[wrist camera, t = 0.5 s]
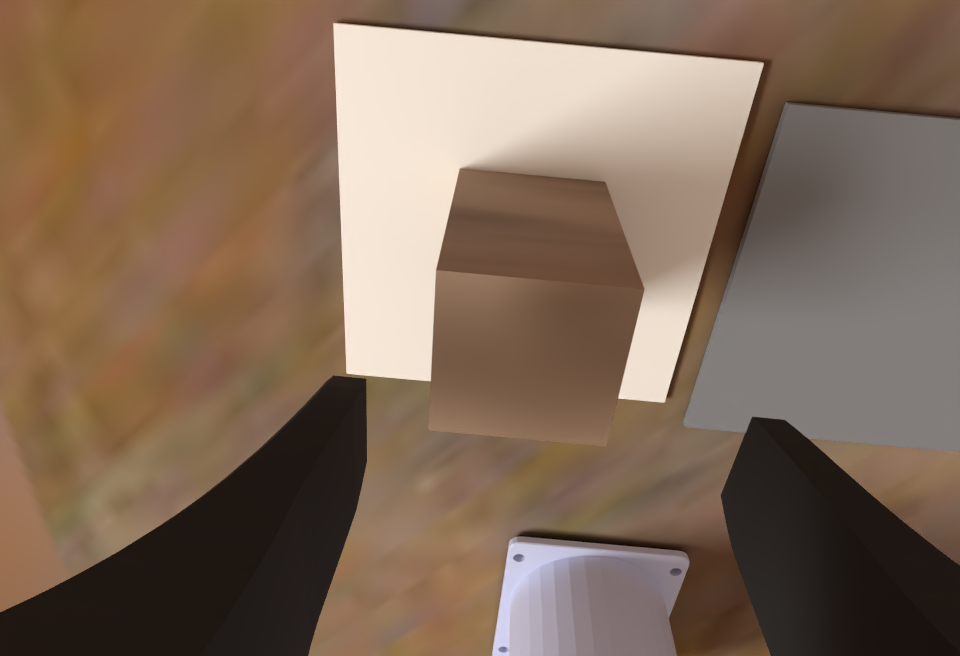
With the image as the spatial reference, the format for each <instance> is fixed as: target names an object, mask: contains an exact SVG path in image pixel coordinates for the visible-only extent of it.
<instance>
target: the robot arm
mask: <svg viewBox="0 0 960 656" xmlns="http://www.w3.org/2000/svg"><path fill="white" fill-rule="evenodd" d="M366 463H367V418H366V379H362V378H352V377H342V376H333V377H331V378H330V379H329V380H327V381H326V383H325V384H324V385H323V386H322V387H321V388H320V389H319V390H318V391H317V392H316V393H315V394H314V395H313V397H312V398H311V399H310V400H309V401H308V402H307V403H306V404H305V405H304V406H303V407H302V408H301V409H300V410H299V411H298V412H297V413H296V414H295V415H294V416H293V417H292V418H291V419H290V420H289V421H288V422H287V423H286V424H285V425H284V426H283V427H282V428H281V429H280V430H279V431H278V432H277V433H276V434H275V435H274V436H273V437H271V438H270V439H269V440H268V441H267V442H266V443H265V444H264V445H263V446H262V447H261V448H260V449H259V450H258V451H256V452H255V453H254V454H253V455H252V456H251V457H249V458H248V459H247V460H246V461H245V462H244V463H242V464H241V465H240V466H239V467H238V468H237V469H235V470H234V471H233V472H232V473H231V474H230V475H228V476H227V477H226V478H225V479H224V480H222V481H221V482H220V483H218V484H217V485H216V486H215V487H213V488H212V489H211V490H210V491H208V492H207V493H206V494H204V495H203V496H202V497H200V498H199V499H198V500H196V501H195V502H194V503H192V504H191V505H189V506H188V507H187V508H185V509H184V510H182V511H181V512H180V513H178V514H177V515H175V516H174V517H172V518H171V519H169V520H168V521H166V522H165V523H163V524H162V525H160V526H159V527H157V528H156V529H154V530H152V531H151V532H149V533H148V534H146V535H144V536H143V537H141V538H140V539H138V540H136V541H135V542H133V543H132V544H130V545H128V546H127V547H125V548H124V549H122V550H120V551H119V552H117V553H115V554H114V555H112V556H110V557H108V558H107V559H105V560H103V561H101V562H99V563H98V564H96V565H94V566H92V567H90V568H89V569H87V570H85V571H83V572H81V573H79V574H77V575H76V576H74V577H72V578H70V579H68V580H66V581H64V582H62V583H60V584H58V585H56V586H55V587H53V588H51V589H49V590H47V591H45V592H43V593H41V594H39V595H37V596H35V597H33V598H31V599H28V600H26V601H24V602H22V603H20V604H18V605H15V606H13V607H11V608H9V609H7V610H5V611H3V612H0V656H308V654H309V650H310V646H311V642H312V639H313V635H314V632H315V629H316V626H317V622H318V619H319V616H320V613H321V610H322V607H323V605H324V602H325V599H326V596H327V593H328V590H329V587H330V584H331V582H332V579H333V576H334V573H335V570H336V567H337V564H338V561H339V559H340V556H341V553H342V550H343V547H344V544H345V541H346V538H347V536H348V533H349V530H350V527H351V524H352V521H353V518H354V515H355V512H356V509H357V504H358V500H359V495H360V491H361V486H362V482H363V477H364V472H365V468H366ZM721 499H722V504H723V509H724V514H725V519H726V524H727V529H728V533H729V537H730V541H731V546H732V549H733V552H734V555H735V558H736V560H737V563H738V566H739V569H740V572H741V575H742V577H743V580H744V583H745V586H746V589H747V591H748V594H749V597H750V599H751V602H752V605H753V608H754V610H755V613H756V616H757V619H758V621H759V624H760V627H761V629H762V632H763V635H764V638H765V640H766V643H767V646H768V649H769V651H770V654H771V656H960V566H959V565H958V564H957V563H955V562H954V561H953V560H951V559H950V558H949V557H947V556H946V555H945V554H943V553H942V552H941V551H939V550H938V549H937V548H935V547H934V546H933V545H932V544H930V543H929V542H928V541H927V540H925V539H924V538H923V537H922V536H920V535H919V534H918V533H917V532H915V531H914V530H913V529H912V528H910V527H909V526H908V525H907V524H905V523H904V522H903V521H902V520H900V519H899V518H898V517H897V516H896V515H894V514H893V513H892V512H891V511H890V510H888V509H887V508H886V507H885V506H884V505H883V504H881V503H880V502H879V501H878V500H877V499H875V498H874V497H873V496H872V495H871V494H870V493H869V492H867V491H866V490H865V489H864V488H863V487H862V486H861V485H859V484H858V483H857V482H856V481H855V480H854V479H853V478H851V477H850V476H849V475H848V474H847V473H846V472H845V471H844V470H842V469H841V468H840V467H839V466H838V465H837V464H836V463H835V462H833V461H832V460H831V459H830V458H829V457H828V456H827V455H826V454H825V453H823V452H822V451H821V450H820V449H819V448H818V447H817V446H815V445H814V444H813V443H812V442H811V441H810V440H809V439H808V438H806V437H805V436H804V435H803V434H802V433H801V432H799V431H798V430H797V429H796V428H795V427H793V426H792V425H791V424H790V423H788V422H787V421H786V420H782V419H772V418H761V417H752V418H751V421H750V423H749V426H748V428H747V431H746V433H745V436H744V438H743V441H742V443H741V446H740V448H739V451H738V453H737V456H736V458H735V461H734V464H733V466H732V469H731V471H730V474H729V476H728V479H727V481H726V484H725V486H724V489H723V491H722V494H721ZM518 554H519V555H518ZM689 564H690V562H689V558H688V555H687V554H686V553H685V552H683V551H678V550H667V549H655V548H644V547H633V546H622V545H611V544H600V543H589V542H578V541H567V540H556V539H545V538H534V537H523V536H518V537H515V538H513V539H511V540H510V542H509V547H508V553H507V560H506V566H505V573H504V579H503V586H502V592H501V599H500V605H499V612H498V619H497V625H496V632H495V638H494V645H493V651H492V656H677V653H676V649H675V644H674V640H673V635H672V631H671V626H670V622H669V617H670V614H671V611H672V609H673V606H674V604H675V601H676V598H677V596H678V593H679V591H680V588H681V585H682V583H683V580H684V578H685V575H686V572H687V570H688V567H689Z"/></svg>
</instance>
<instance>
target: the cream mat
mask: <svg viewBox="0 0 960 656" xmlns="http://www.w3.org/2000/svg"><path fill="white" fill-rule="evenodd" d="M333 25H334V51H335V77H336V104H337V130H338V156H339V183H340V209H341V235H342V262H343V288H344V314H345V340H346V367H347V374H356V375H367V376H378V377H389V378H400V379H411V380H422V381H431V364H432V343H433V322H434V301H435V280H436V268H437V264H438V259H439V255H440V251H441V246H442V242H443V238H444V234H445V229H446V225H447V221H448V216H449V212H450V208H451V204H452V199H453V195H454V191H455V186H456V182H457V178H458V173H459V169H460V168H461V169H471V170H482V171H493V172H504V173H515V174H526V175H537V176H548V177H558V178H569V179H580V180H591V181H602V182H606V185H607V188H608V191H609V193H610V196H611V199H612V202H613V204H614V207H615V210H616V213H617V215H618V218H619V221H620V223H621V226H622V229H623V232H624V234H625V237H626V240H627V243H628V245H629V248H630V251H631V254H632V256H633V259H634V262H635V264H636V267H637V270H638V273H639V275H640V278H641V281H642V284H643V286H644V289H645V290H644V294H643V298H642V302H641V306H640V310H639V314H638V318H637V322H636V327H635V331H634V335H633V339H632V343H631V347H630V351H629V355H628V359H627V364H626V368H625V372H624V376H623V380H622V384H621V388H620V392H619V396H618V398H620V399H631V400H642V401H653V402H664V403H665V399H666V396H667V392H668V389H669V386H670V382H671V379H672V375H673V372H674V369H675V365H676V362H677V358H678V355H679V352H680V348H681V345H682V341H683V338H684V334H685V331H686V328H687V324H688V321H689V317H690V314H691V311H692V307H693V304H694V300H695V297H696V293H697V290H698V287H699V283H700V280H701V276H702V273H703V270H704V266H705V263H706V259H707V256H708V253H709V249H710V246H711V242H712V239H713V235H714V232H715V229H716V225H717V222H718V218H719V215H720V212H721V208H722V205H723V201H724V198H725V195H726V191H727V188H728V184H729V181H730V177H731V174H732V171H733V167H734V164H735V160H736V157H737V154H738V150H739V147H740V143H741V140H742V137H743V133H744V130H745V126H746V123H747V119H748V116H749V113H750V109H751V106H752V102H753V99H754V96H755V92H756V89H757V85H758V82H759V79H760V75H761V72H762V68H763V65H764V63H763V62H757V61H747V60H736V59H725V58H714V57H703V56H693V55H682V54H671V53H660V52H649V51H639V50H628V49H617V48H606V47H595V46H584V45H574V44H563V43H552V42H541V41H530V40H520V39H509V38H498V37H487V36H476V35H465V34H455V33H444V32H433V31H422V30H411V29H401V28H390V27H379V26H368V25H357V24H347V23H336V22H335V23H333Z"/></svg>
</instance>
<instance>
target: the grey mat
mask: <svg viewBox="0 0 960 656" xmlns="http://www.w3.org/2000/svg"><path fill="white" fill-rule="evenodd" d="M752 417H761V418H772V419H782V420H786V421H787V422H788V423H790V424H791V425H792V426H793V427H795V428H796V429H797V430H798V431H799V432H801V433H802V434H803V435H804V436H805V437H806V438H811V439H822V440H833V441H844V442H855V443H866V444H877V445H888V446H899V447H910V448H921V449H932V450H942V451H953V452H960V118H953V117H943V116H932V115H921V114H910V113H899V112H888V111H878V110H867V109H856V108H845V107H834V106H823V105H813V104H802V103H791V102H785V105H784V108H783V111H782V114H781V117H780V120H779V124H778V127H777V130H776V133H775V136H774V139H773V142H772V145H771V149H770V152H769V155H768V158H767V161H766V164H765V167H764V171H763V174H762V177H761V180H760V183H759V186H758V189H757V192H756V196H755V199H754V202H753V205H752V208H751V211H750V214H749V218H748V221H747V224H746V227H745V230H744V233H743V236H742V239H741V243H740V246H739V249H738V252H737V255H736V258H735V261H734V265H733V268H732V271H731V274H730V277H729V280H728V283H727V286H726V290H725V293H724V296H723V299H722V302H721V305H720V308H719V312H718V315H717V318H716V321H715V324H714V327H713V330H712V333H711V337H710V340H709V343H708V346H707V349H706V352H705V355H704V359H703V362H702V365H701V368H700V371H699V374H698V377H697V380H696V384H695V387H694V390H693V393H692V396H691V399H690V402H689V406H688V409H687V412H686V415H685V418H684V421H683V423H684V426H685V427H690V428H701V429H712V430H723V431H734V432H745V433H746V431H747V428H748V426H749V423H750V421H751V418H752Z"/></svg>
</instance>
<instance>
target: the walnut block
mask: <svg viewBox="0 0 960 656" xmlns="http://www.w3.org/2000/svg"><path fill="white" fill-rule="evenodd" d="M644 290H645V289H644V286H643V284H642V281H641V278H640V275H639V273H638V270H637V267H636V264H635V262H634V259H633V256H632V254H631V251H630V248H629V245H628V243H627V240H626V237H625V234H624V232H623V229H622V226H621V223H620V221H619V218H618V215H617V213H616V210H615V207H614V204H613V202H612V199H611V196H610V193H609V191H608V188H607V185H606V182H602V181H591V180H580V179H569V178H558V177H548V176H537V175H526V174H515V173H504V172H493V171H482V170H471V169H461V168H460V169H459V173H458V178H457V182H456V186H455V191H454V195H453V199H452V204H451V208H450V212H449V216H448V221H447V225H446V229H445V234H444V238H443V242H442V246H441V251H440V255H439V259H438V264H437V268H436V280H435V301H434V322H433V343H432V364H431V385H430V406H429V427H428V430H433V431H444V432H455V433H466V434H477V435H488V436H499V437H510V438H521V439H532V440H543V441H554V442H565V443H576V444H587V445H598V446H607V442H608V438H609V433H610V429H611V425H612V421H613V417H614V413H615V409H616V405H617V401H618V396H619V392H620V388H621V384H622V380H623V376H624V372H625V368H626V364H627V359H628V355H629V351H630V347H631V343H632V339H633V335H634V331H635V327H636V322H637V318H638V314H639V310H640V306H641V302H642V298H643V294H644Z"/></svg>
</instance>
